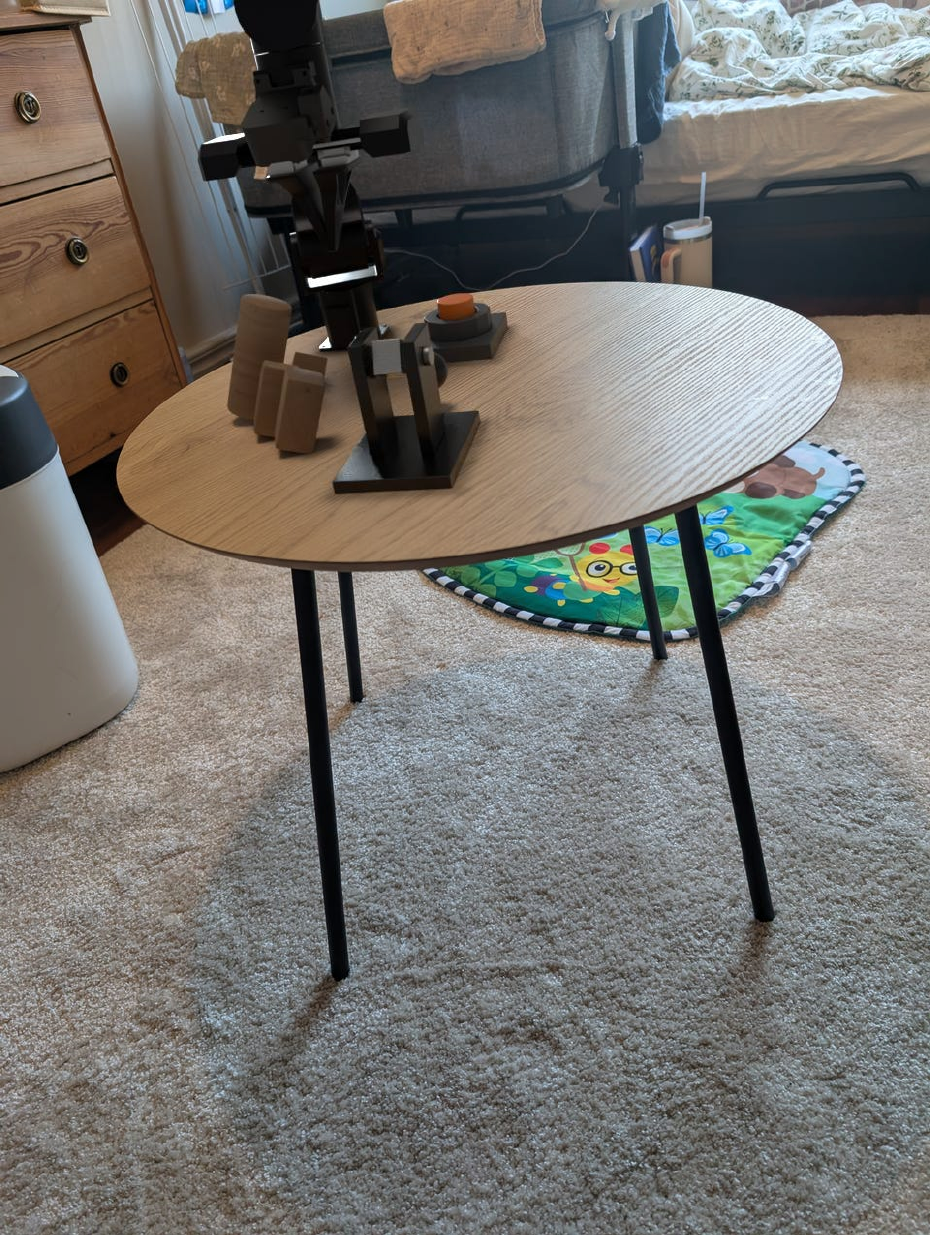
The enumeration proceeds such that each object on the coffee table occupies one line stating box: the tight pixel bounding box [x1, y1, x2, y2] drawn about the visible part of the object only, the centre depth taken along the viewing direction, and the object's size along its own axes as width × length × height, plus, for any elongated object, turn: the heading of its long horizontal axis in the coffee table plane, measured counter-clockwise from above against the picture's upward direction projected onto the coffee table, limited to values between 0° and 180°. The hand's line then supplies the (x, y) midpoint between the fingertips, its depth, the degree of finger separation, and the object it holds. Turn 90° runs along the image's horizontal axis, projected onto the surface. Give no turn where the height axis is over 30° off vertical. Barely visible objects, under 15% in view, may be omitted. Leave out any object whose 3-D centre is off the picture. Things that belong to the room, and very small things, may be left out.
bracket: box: [331, 321, 481, 495], centre depth 68 cm, size 12×9×10 cm
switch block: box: [423, 302, 509, 364], centre depth 90 cm, size 10×8×4 cm
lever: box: [371, 338, 449, 389], centre depth 71 cm, size 13×3×3 cm, turn 169°
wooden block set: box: [226, 293, 328, 455], centre depth 78 cm, size 18×9×10 cm, turn 11°
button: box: [436, 292, 475, 320], centre depth 89 cm, size 4×4×2 cm
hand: (333, 250), depth 81 cm, fingers closed
